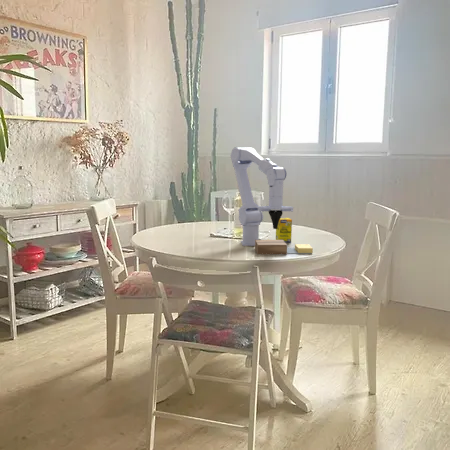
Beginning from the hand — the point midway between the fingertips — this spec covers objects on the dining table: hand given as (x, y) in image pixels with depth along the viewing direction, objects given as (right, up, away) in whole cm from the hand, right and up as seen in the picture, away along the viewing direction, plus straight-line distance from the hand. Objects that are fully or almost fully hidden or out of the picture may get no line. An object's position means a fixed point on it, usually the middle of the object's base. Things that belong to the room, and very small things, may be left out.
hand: (275, 228), depth 203 cm
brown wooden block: (-2, -10, +2) cm, 10 cm away
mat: (+10, -10, +3) cm, 14 cm away
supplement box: (+6, -7, +23) cm, 24 cm away
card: (+12, -8, +2) cm, 14 cm away
